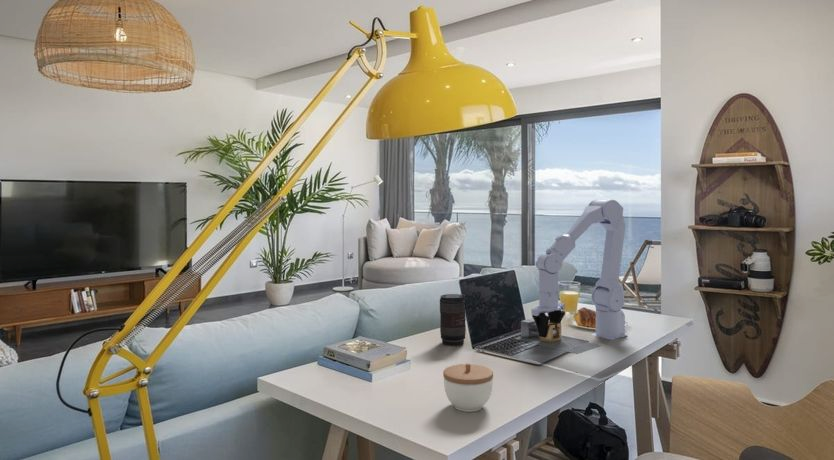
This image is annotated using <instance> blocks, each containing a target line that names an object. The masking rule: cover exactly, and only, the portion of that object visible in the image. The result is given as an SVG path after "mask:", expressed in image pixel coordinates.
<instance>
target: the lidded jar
mask: <svg viewBox="0 0 834 460" xmlns="http://www.w3.org/2000/svg"><path fill="white" fill-rule="evenodd" d="M493 379H494V371H493V370H492V369H491V368H489V367H487V366H484V365H479V364H473V363H469V362H468V363H467V362H466V363H464V364H463V363H462V364H460V363H459V364H454V365H451V366H448V367H446V368H444V370H443V384H444V385H443V387H444V392H445V395H446V397H447V399H448V401H449V402H450V403H451V404H452V405H453V406H454V408H455V409H456V410H458V411H460V412H464V413H465V412H466V413H473V412H478V411H480V410H482V409H483V407H484V406H485V405H486V404H487V402H488V401H489V400H490V398H491V395H492V392H493V391H492V390H493V382H494V381H493Z"/></svg>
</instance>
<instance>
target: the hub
mask: <svg viewBox="0 0 834 460" xmlns="http://www.w3.org/2000/svg"><path fill="white" fill-rule="evenodd" d="M555 327H556V330H557V335H556V336H553V328H555ZM561 337H562V322H561V323H559V322H554V321H549V322H548V327H547V335H546V337H545V338H544V337H540V341H543V342H548V343H553V342H557V341H560V340H561Z"/></svg>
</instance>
